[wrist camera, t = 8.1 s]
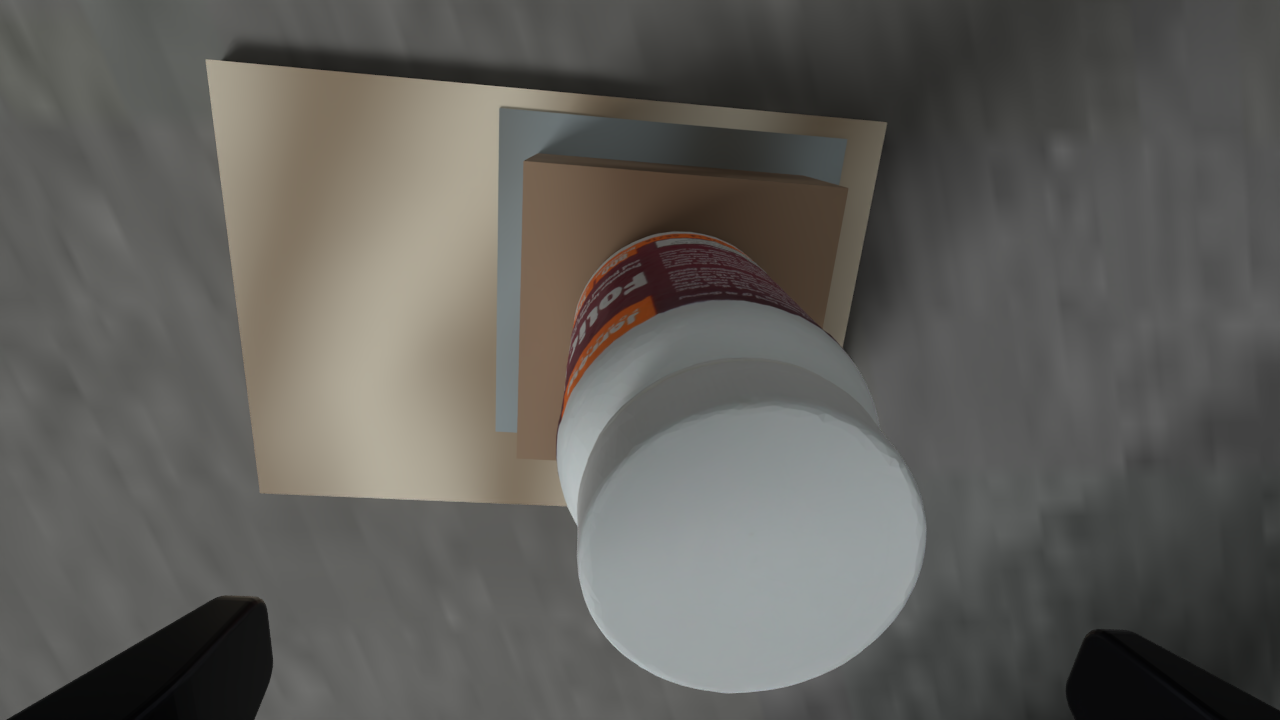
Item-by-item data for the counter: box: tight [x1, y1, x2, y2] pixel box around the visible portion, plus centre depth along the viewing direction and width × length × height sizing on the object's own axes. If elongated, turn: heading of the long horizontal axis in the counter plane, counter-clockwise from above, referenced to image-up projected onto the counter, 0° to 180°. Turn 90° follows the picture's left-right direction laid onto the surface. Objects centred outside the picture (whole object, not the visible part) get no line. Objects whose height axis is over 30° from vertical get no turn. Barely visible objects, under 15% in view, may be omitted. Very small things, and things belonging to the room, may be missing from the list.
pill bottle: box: [556, 232, 927, 693], centre depth 11 cm, size 5×5×8 cm
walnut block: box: [517, 153, 849, 460], centre depth 17 cm, size 7×7×3 cm
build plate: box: [206, 59, 887, 506], centre depth 19 cm, size 17×12×1 cm
